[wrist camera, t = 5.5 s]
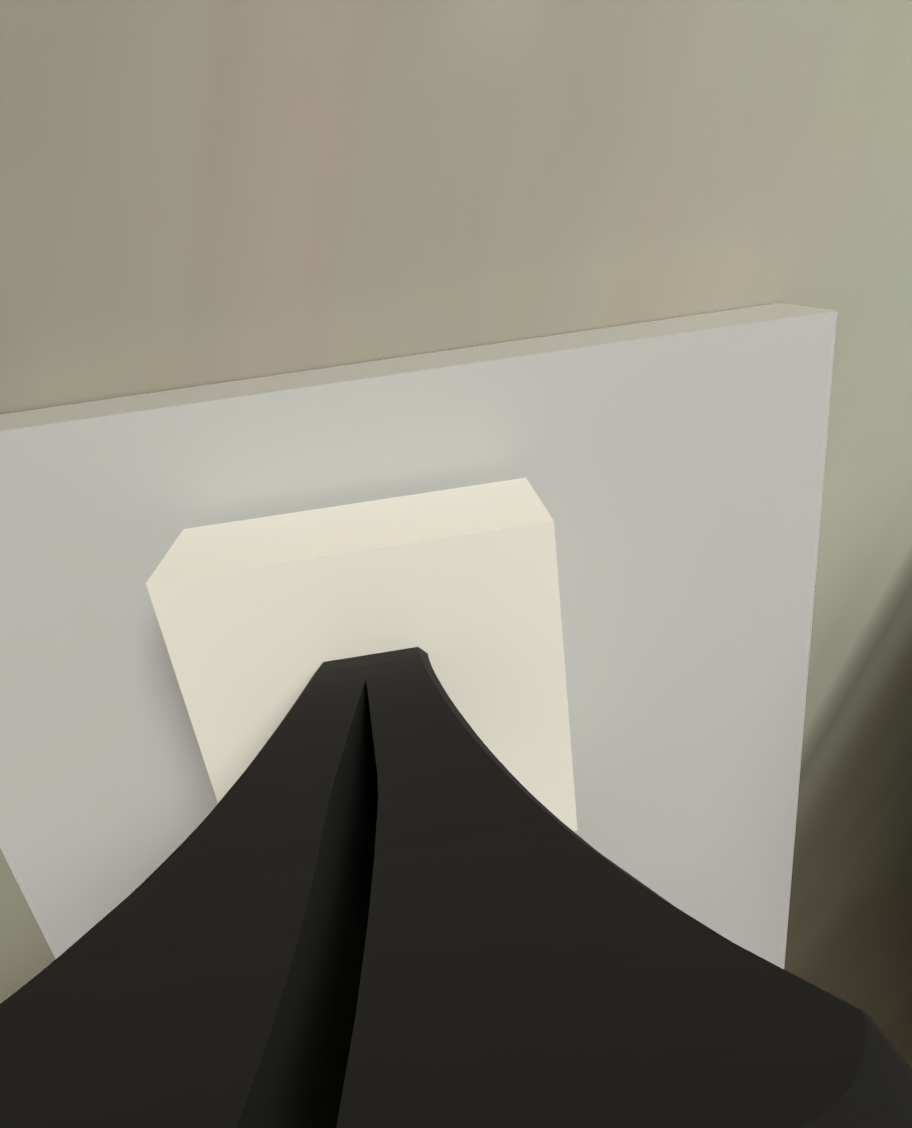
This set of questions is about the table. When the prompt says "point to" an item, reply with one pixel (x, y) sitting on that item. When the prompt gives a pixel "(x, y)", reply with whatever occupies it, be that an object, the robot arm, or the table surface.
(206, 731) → the ivory key
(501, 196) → the table surface
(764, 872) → the keyboard base
